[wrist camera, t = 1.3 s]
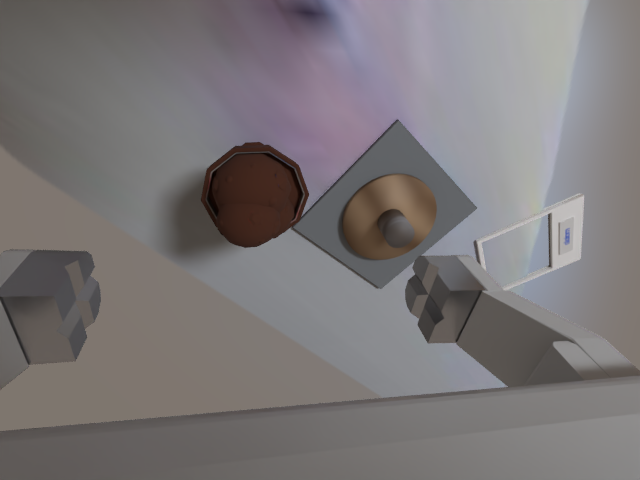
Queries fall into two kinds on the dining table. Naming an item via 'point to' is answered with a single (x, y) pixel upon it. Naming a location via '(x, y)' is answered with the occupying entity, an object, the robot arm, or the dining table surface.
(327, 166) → the dining table surface
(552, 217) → the photo frame
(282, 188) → the ice cream bowl
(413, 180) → the walnut lid
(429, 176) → the rubber mat
